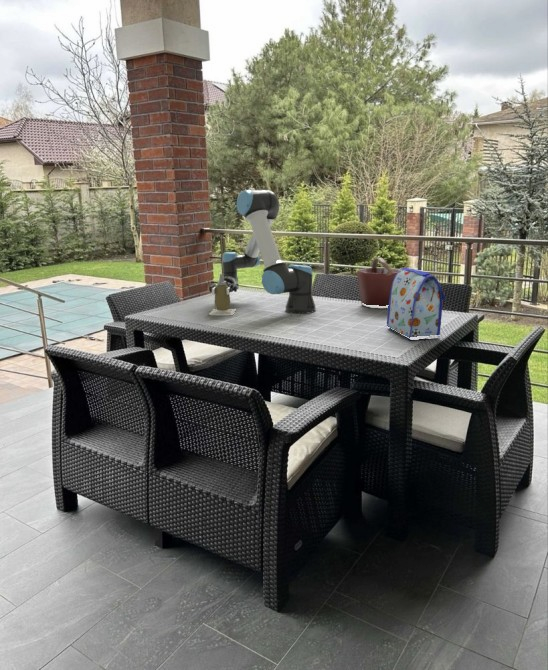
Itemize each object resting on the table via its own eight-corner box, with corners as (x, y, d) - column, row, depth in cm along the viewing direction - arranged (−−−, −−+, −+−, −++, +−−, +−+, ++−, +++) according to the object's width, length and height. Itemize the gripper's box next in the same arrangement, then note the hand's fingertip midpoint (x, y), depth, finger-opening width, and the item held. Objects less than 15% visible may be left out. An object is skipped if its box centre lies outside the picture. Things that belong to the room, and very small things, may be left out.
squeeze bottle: (216, 311, 263) (214, 275, 258) (213, 308, 271) (211, 273, 266) (232, 310, 265) (230, 274, 260) (229, 307, 273) (227, 272, 268)
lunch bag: (447, 338, 215) (451, 272, 208) (410, 342, 211) (413, 275, 204) (417, 326, 236) (420, 265, 229) (383, 329, 232) (386, 267, 225)
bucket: (400, 311, 266) (403, 261, 259) (356, 310, 269) (357, 260, 263) (397, 301, 289) (399, 255, 283) (356, 301, 293) (357, 255, 286)
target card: (236, 310, 274) (236, 308, 273) (232, 315, 262) (232, 313, 262) (213, 310, 274) (213, 308, 274) (208, 315, 263) (208, 313, 263)
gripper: (245, 291, 283) (240, 299, 261) (209, 291, 284) (201, 299, 262) (245, 277, 281) (239, 284, 259) (209, 277, 282) (200, 284, 260)
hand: (220, 291), depth 260 cm, fingers closed on squeeze bottle, 6 cm apart
